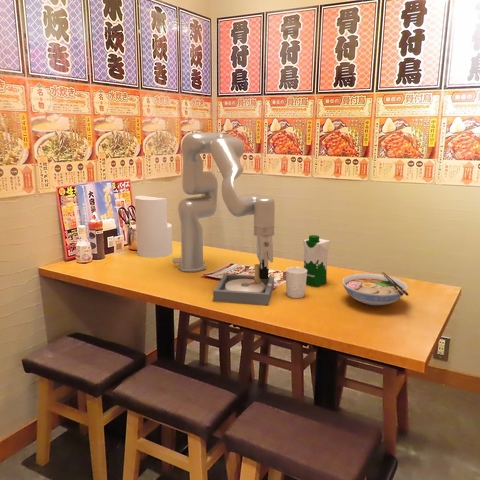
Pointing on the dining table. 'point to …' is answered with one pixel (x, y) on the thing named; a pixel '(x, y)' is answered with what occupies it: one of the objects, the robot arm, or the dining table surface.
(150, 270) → the dining table surface
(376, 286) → the ramen bowl
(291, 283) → the white cup
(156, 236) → the cylinder
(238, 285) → the dial
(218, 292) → the dial housing
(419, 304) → the dining table surface
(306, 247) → the milk carton
